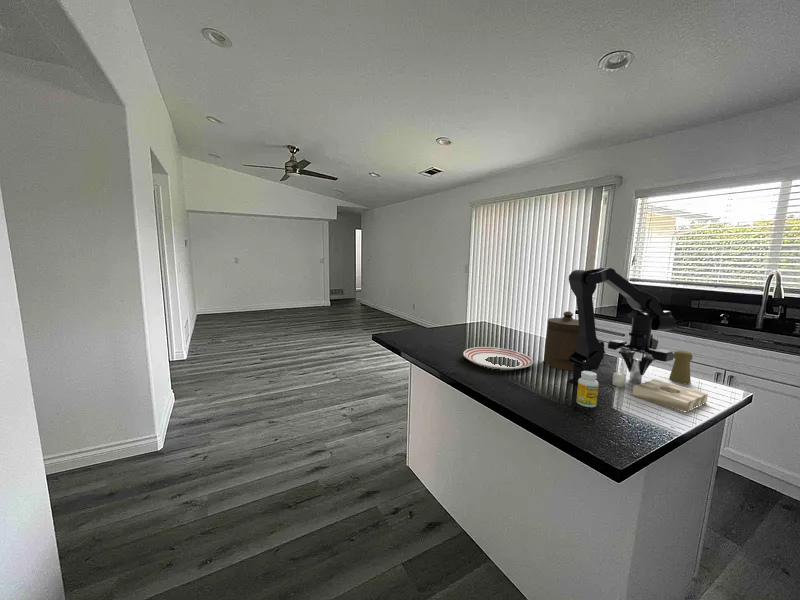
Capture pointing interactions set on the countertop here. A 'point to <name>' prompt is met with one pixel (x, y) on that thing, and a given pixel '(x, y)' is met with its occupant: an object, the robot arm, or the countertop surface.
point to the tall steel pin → (635, 371)
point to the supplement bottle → (587, 389)
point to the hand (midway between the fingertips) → (636, 373)
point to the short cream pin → (618, 379)
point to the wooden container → (561, 341)
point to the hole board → (670, 394)
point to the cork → (681, 367)
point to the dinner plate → (482, 353)
